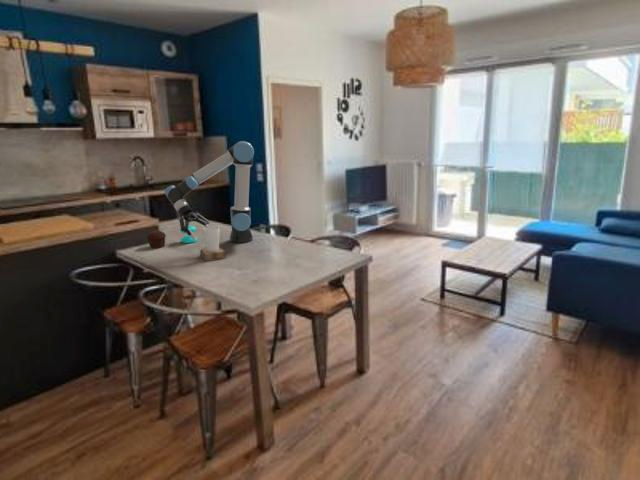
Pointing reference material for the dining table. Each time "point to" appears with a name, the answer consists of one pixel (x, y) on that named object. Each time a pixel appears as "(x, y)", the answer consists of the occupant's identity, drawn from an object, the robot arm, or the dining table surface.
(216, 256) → the pedestal
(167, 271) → the dining table surface
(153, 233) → the muffin
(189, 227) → the donuts
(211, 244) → the foam cup
